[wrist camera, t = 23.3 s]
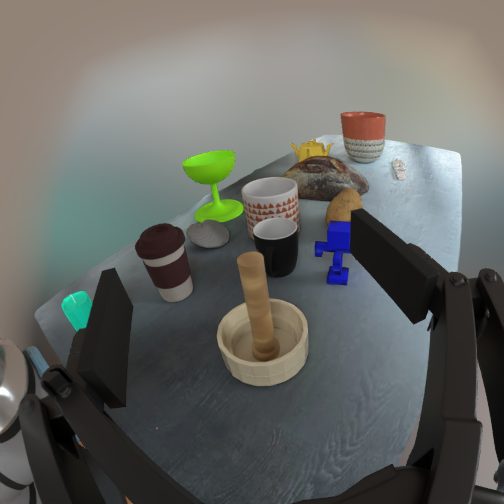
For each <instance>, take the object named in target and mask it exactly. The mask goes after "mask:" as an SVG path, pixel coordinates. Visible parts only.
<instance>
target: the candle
mask: <svg viewBox="0 0 504 504" xmlns="http://www.w3.org/2000/svg"><path fill="white" fill-rule="evenodd" d="M92 304H93V303H92V301H91V300H90V298H89V296H88V294H87V292H85V291H79V292H76V293H73V294H70V295H69V296H68V297H66V298H65V299H63V302H62V305H61V306H62V310H63V311H64V313H65V315H66V316H67V318H68V319H69V321H70V322H71V324H72V325H73V327H74V328H75V330H76V331H78V330H79V329H81V328H86V326H87V322H88V318H89V315H90V311H91V307H92Z"/></svg>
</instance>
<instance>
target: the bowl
mask: <svg viewBox="0 0 504 504" xmlns="http://www.w3.org/2000/svg"><path fill="white" fill-rule="evenodd" d="M269 300H270V307H271V315H272V322H273V329H274V337H275V338H276V339H277V340H278V341H279V345H280V353H279V355H278V356H277V357H276V358H275V359H274V360H271V361H268V362H262V361H259V360H257V359H256V358H255V357H254V356H253V353H252V349H251V345H252V343H253V341H254V340H253V335H252V330H251V326H250V321H249V316H248V311H247V307H246V302H245V303H243V304H241V305H239V306H237V307H235V308H234V309H232V310H231V311H230V312H229V313H228V314H226V315H225V316H224V318H223V319H222V321H221V323H220V324H219V327H218V332H217V340H218V345H219V348H220V351H221V354H222V356H223V359H224V362H225V365H226V367H227V369H228V370H229V371H230V373H231V374H232V375H233V376H234V377H236V378H237V379H239V380H240V381H242V382H244V383H247V384H251V385H255V386H272V385H275V384H279V383H282V382H285V381H287V380H288V379H290V378H291V377H293V376H294V375H296V374H297V373H298V372H299V371H300V369H301V368H302V367H303V366H304V364H305V362H306V359H307V356H308V325H307V320H306V318H305V316H304V315H303V313H302V311H300V310H299V309H298V308H297V307H295V306H294V305H293V304H291V303H288V302H286V301H283V300H279V299H272V298H269Z"/></svg>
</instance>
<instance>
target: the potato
mask: <svg viewBox="0 0 504 504" xmlns="http://www.w3.org/2000/svg"><path fill="white" fill-rule="evenodd" d="M360 208H363V207H362V200H361V197H360V194H359V193H358V192H357V191H356V190H355V189H352V188H346V189H344V190H343V191H342V192H341V193H340V194H338V195H337V196H336V197H335V198H334V199H333V200H332V201H331V202H330V204H329V206H328V208H327V212H326V222H327V224H328V227H329V223H330V220H332V221H347V222H350V221H351V210H356V209H360Z"/></svg>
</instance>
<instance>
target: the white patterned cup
mask: <svg viewBox="0 0 504 504" xmlns="http://www.w3.org/2000/svg"><path fill="white" fill-rule="evenodd" d="M242 197H243V203H244V209H245V215H246V221H247V227H248V232H249V236H250V237H251V238H252V239H253V240H254V236H253V228H254V226H255V225H256V224H257V223H259V222H261V221H263V220H266V219H269V218H276V217H281V218H288V219H291V220H293V221H294V222H295V223H296V224H297V227H298V234H299V232H300V214H299V200H298V188H297V183H296V182H295V181H294V180H292V179H289V178H284V177H268V178H262V179H258V180H255V181H252V182H250V183H248V184H246V185H245V186H244V187H243V188H242Z"/></svg>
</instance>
